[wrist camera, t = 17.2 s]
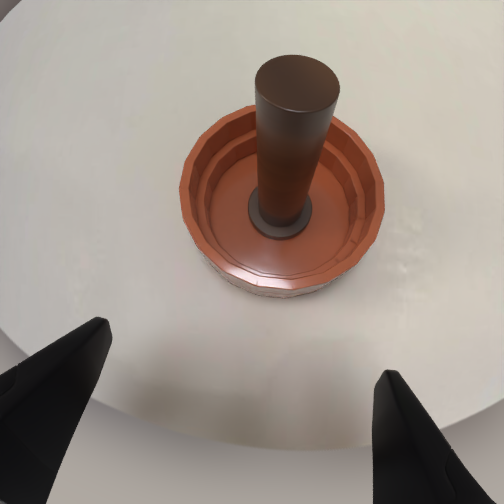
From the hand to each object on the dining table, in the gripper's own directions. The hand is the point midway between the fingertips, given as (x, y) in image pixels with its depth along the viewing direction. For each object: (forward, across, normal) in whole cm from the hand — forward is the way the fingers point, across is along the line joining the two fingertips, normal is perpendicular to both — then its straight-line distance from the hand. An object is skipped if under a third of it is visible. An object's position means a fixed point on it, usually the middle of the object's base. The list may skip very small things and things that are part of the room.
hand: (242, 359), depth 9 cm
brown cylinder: (+15, 0, +2) cm, 15 cm away
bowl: (+15, 0, +2) cm, 15 cm away
